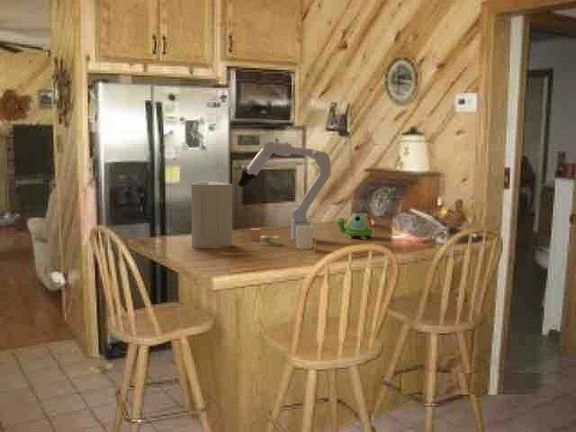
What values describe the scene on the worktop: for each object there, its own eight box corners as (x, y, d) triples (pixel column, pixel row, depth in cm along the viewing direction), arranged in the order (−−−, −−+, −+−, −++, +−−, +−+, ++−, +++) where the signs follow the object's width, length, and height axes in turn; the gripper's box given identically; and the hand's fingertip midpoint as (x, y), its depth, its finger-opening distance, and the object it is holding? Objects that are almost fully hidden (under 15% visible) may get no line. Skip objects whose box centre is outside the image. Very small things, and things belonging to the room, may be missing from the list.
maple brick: (279, 243, 272) (279, 236, 272) (278, 245, 267) (278, 237, 267) (261, 243, 273) (261, 235, 272) (260, 245, 268) (260, 237, 267)
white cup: (315, 250, 261) (315, 227, 259) (297, 250, 259) (297, 228, 258) (311, 247, 268) (311, 225, 267) (294, 247, 267) (294, 225, 266)
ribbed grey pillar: (181, 244, 271) (181, 182, 268) (209, 240, 281) (209, 181, 277) (205, 250, 257) (204, 185, 253) (233, 246, 267) (233, 184, 263)
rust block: (260, 238, 284) (260, 228, 284) (259, 240, 280) (259, 229, 279) (251, 238, 285) (251, 228, 284) (250, 240, 280) (250, 229, 280)
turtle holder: (339, 234, 305) (340, 211, 303) (375, 236, 299) (375, 213, 298) (333, 238, 293) (334, 214, 292) (370, 240, 288) (370, 216, 286)
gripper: (253, 157, 289) (236, 179, 291) (249, 157, 275) (231, 180, 276) (264, 166, 289) (247, 188, 291) (261, 166, 275) (243, 190, 276)
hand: (240, 185), depth 284 cm, fingers open, 7 cm apart
